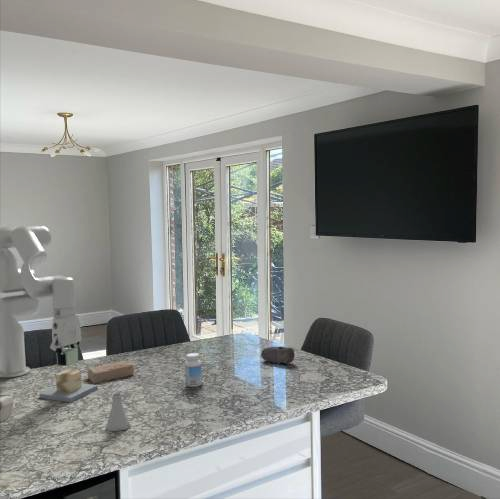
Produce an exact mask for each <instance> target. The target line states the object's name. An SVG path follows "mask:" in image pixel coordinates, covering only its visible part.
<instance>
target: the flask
mask: <svg viewBox="0 0 500 499" xmlns="http://www.w3.org/2000/svg"><path fill="white" fill-rule="evenodd" d="M110 396H111V398H112V404H111V409H110V412H109V416H108V420H107V422H106V426H105V429H106V431H109V432H121V431H126V430H127V429H129V428H130V427H131V422H130V421H129V418H128V416H127V413H126V411H125V408H124V406H123V402H122V401H123V400H122V397H123V393H122V392H115V393H112V394H111V395H110Z"/></svg>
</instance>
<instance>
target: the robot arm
mask: <svg viewBox="0 0 500 499" xmlns="http://www.w3.org/2000/svg"><path fill="white" fill-rule="evenodd" d="M51 242H52V234H51V232H50V229H49V228H47V227H46V226H44V225H21V226H20V225H19V226H18V225H17V226H16V225H15V226H10V225H9V226H0V293H1V294H11V293H12V294H13V293H19V292H23V294H16V295H9V296H3V297H0V378H4V379H5V378H16V377H21V376H23V375H24V376H25V375H27V374H28V373H30V372H31V368H30V367H29V366H26V350H25V348H26V347H25V346H26V345H25V332H24V327H23V326H22V325H21V324H20V323H19V321H18V320H19V319H24V318H29V317H34V316H36V315H37V314H38V313H39V312H40V305H41V304H40V302H41V301H40V299H45V298H52V310H53V311H52V316H53V318H52V326H51V341H52V342H51V343H50V346H49V348H50V349H51V350H53V352H55V354H56V358H57V357H58V365H57V366H61V365H63V366H62V367H66V366H65V365H66V356H65V354H64V350H65V348H66V347H68V346H69V347H68V348H75V349H78V350H79V345H80V343H81V341H82V339H83V337H82V330H81V323H80V318H79V315H78V313H77V307H76V292H75V291H76V290H75V281H74V280H75V279H74V278H73V277H69V276H64V275H61V274H60V275H59V274H57V275H49V276H48V275H47V276H41V277H39V276H37V274H36V271H35V269H37V268H39V267H41V265H43V264H44V263H45V262H46V260H47V258H48V253H47V251H46V250H45V249H44V248H45V247H48V246H50V244H51ZM13 248H15V249H16V251H17V252H18V254H19V256H20V258H21V259H22V261H23V264H22V265H21V267H19V266H18V259H17V256H16V254H15V253H14V252H13V251H12V250H11V249H13Z"/></svg>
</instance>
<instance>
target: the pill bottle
mask: <svg viewBox="0 0 500 499" xmlns="http://www.w3.org/2000/svg"><path fill="white" fill-rule="evenodd" d="M185 359H186V360H185V361H184V372H185V373H184V376H185V385H186V386H187V387H190V388H195V387H196V388H197V387H199V386H201V385H202V384H203V371H202V369H203V367H202V361H201V360H200V354H199V353H197V352H194V353H193V352H192V353H187V354H186V358H185Z"/></svg>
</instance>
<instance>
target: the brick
mask: <svg viewBox="0 0 500 499" xmlns="http://www.w3.org/2000/svg"><path fill="white" fill-rule="evenodd" d="M134 373H135V367H134V363H133V362H131V361H128V360H120V361H117V362H113V363H110V364H109V363H108V364H107V363H106V364H103V365H96V366H92V367H89V368H88V370H87V379H88V380H89V381H90V382H92V383H100V382H104V381H109V380H110V381H111V380H115V379H118V378H119V379H121V378H125V377H129V376H132V375H133V374H134Z"/></svg>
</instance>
